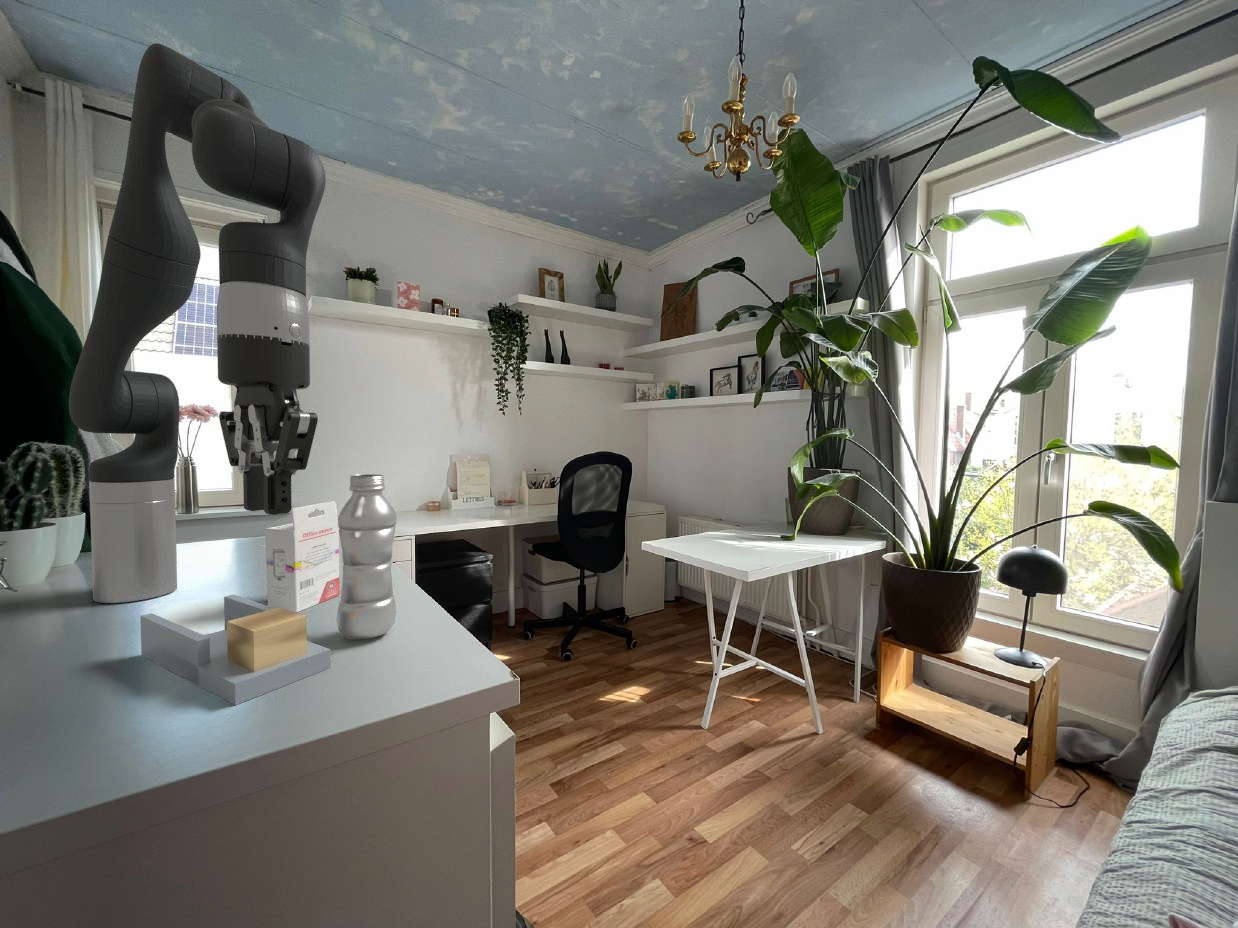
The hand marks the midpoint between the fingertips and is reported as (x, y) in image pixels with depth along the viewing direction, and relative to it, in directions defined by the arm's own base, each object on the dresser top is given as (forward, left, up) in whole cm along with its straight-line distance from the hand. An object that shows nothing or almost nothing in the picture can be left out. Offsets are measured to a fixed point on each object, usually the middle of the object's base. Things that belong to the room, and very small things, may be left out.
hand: (267, 510), depth 52 cm
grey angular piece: (-7, 0, -17) cm, 19 cm away
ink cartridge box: (-20, +15, -17) cm, 30 cm away
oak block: (-1, 0, -15) cm, 15 cm away
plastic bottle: (-2, +12, -17) cm, 21 cm away
